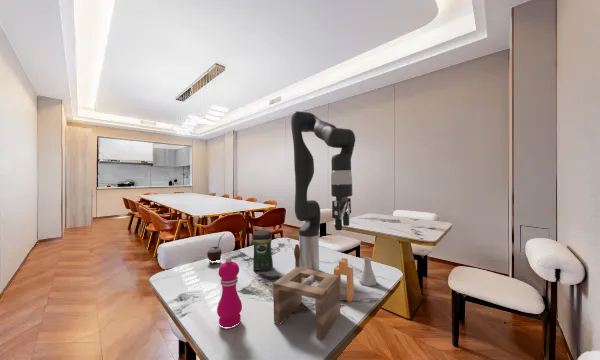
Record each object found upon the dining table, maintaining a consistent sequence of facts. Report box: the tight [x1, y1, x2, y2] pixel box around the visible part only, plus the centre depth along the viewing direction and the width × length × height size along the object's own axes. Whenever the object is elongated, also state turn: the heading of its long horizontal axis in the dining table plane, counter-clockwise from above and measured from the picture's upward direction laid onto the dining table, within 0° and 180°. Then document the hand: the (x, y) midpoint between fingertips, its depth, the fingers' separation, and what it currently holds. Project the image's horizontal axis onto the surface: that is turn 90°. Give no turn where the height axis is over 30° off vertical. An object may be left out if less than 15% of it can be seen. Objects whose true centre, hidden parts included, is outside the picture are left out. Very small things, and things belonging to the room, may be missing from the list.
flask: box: [358, 256, 378, 287], centre depth 95 cm, size 7×7×10 cm
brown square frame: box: [272, 267, 341, 341], centre depth 71 cm, size 16×14×12 cm
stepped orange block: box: [333, 257, 355, 303], centre depth 83 cm, size 6×4×14 cm, turn 61°
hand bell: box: [293, 243, 306, 282], centre depth 96 cm, size 8×8×16 cm
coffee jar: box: [251, 230, 274, 272], centre depth 112 cm, size 10×8×19 cm
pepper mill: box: [216, 256, 243, 327], centre depth 69 cm, size 7×7×20 cm
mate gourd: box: [206, 232, 225, 261], centre depth 122 cm, size 8×8×15 cm
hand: (342, 227), depth 83 cm, fingers open, 8 cm apart
